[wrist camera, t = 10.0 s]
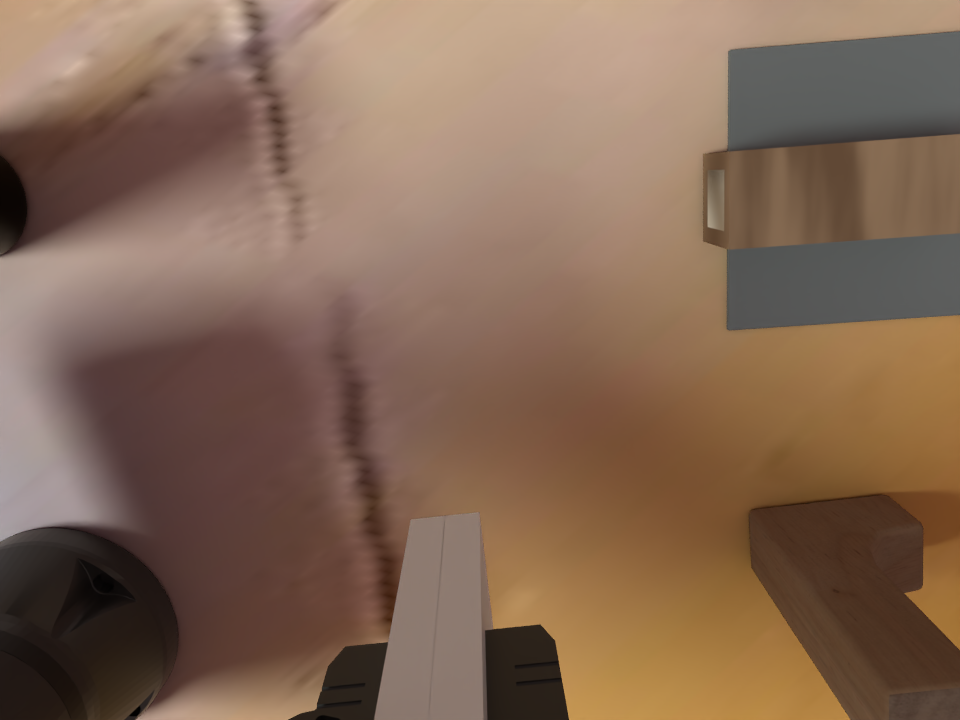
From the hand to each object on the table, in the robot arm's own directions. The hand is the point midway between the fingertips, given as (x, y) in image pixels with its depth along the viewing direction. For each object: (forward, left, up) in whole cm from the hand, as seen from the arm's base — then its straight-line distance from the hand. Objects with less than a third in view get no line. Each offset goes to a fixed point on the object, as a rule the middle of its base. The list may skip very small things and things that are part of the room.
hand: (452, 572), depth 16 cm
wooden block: (+21, -16, -31) cm, 41 cm away
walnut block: (+14, +6, -28) cm, 31 cm away
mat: (+23, +6, -31) cm, 39 cm away
